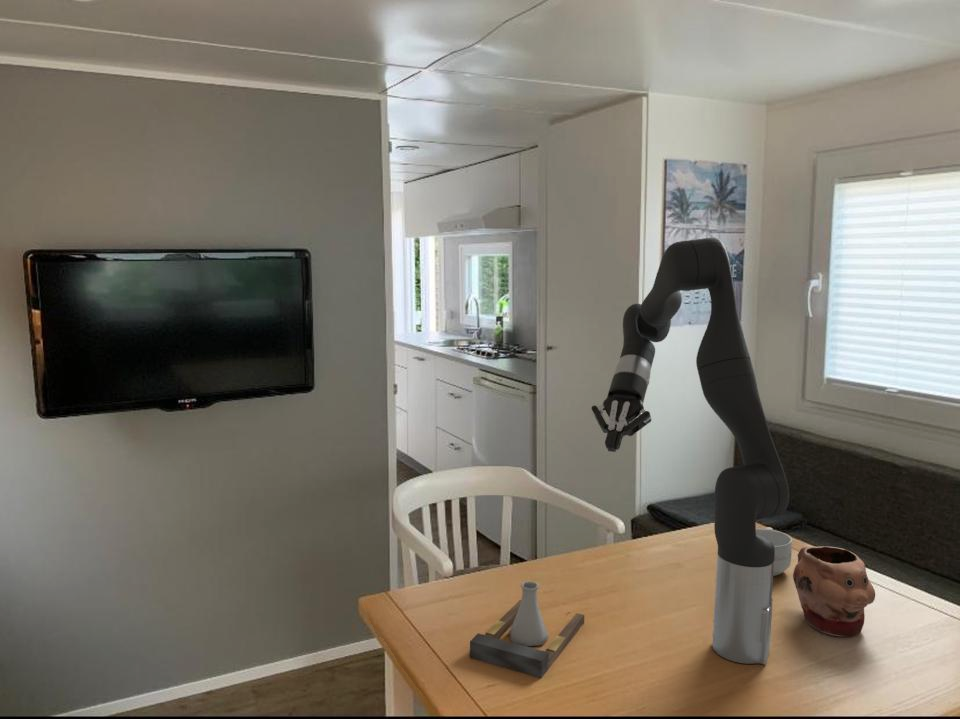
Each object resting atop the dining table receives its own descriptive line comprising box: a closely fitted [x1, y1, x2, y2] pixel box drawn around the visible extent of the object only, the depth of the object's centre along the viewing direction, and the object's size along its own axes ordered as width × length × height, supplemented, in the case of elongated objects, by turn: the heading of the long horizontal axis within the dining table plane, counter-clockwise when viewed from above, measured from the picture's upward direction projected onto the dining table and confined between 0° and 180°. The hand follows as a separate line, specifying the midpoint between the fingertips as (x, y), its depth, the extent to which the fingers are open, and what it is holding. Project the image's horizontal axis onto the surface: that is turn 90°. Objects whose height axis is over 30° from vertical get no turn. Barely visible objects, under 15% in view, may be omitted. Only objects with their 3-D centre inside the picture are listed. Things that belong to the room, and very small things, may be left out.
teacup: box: [756, 526, 793, 577], centre depth 164 cm, size 14×11×8 cm
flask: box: [508, 580, 550, 647], centre depth 133 cm, size 7×7×10 cm
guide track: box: [469, 599, 585, 679], centre depth 132 cm, size 13×21×3 cm, turn 153°
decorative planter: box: [792, 545, 876, 637], centre depth 140 cm, size 20×12×14 cm, turn 14°
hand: (611, 449), depth 149 cm, fingers closed
